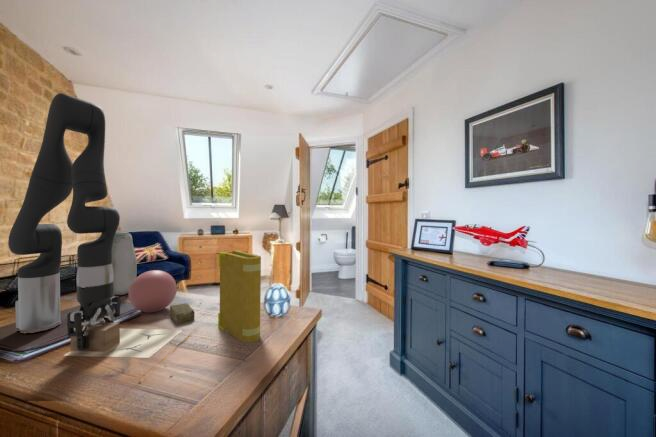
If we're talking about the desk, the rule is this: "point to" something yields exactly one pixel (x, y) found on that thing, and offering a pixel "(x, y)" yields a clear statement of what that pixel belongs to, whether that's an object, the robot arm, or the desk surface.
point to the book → (240, 294)
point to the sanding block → (100, 338)
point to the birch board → (136, 343)
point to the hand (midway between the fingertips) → (96, 342)
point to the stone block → (181, 313)
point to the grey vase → (123, 263)
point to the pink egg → (152, 291)
